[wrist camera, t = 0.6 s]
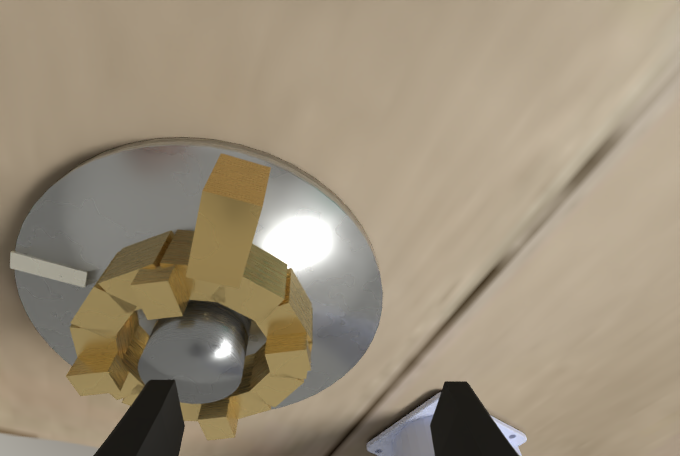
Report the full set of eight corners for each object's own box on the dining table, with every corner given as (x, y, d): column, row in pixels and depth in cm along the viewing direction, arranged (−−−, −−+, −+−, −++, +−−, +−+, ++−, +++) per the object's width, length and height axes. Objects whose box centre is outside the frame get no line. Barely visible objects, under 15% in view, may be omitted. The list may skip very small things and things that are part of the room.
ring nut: (400, 255, 19) (415, 305, 16) (240, 403, 25) (231, 460, 22) (202, 121, 15) (177, 156, 12) (64, 333, 21) (24, 391, 18)
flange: (448, 271, 22) (480, 341, 18) (261, 431, 29) (252, 507, 25) (121, 41, 15) (49, 69, 11) (-21, 324, 22) (-96, 405, 18)
